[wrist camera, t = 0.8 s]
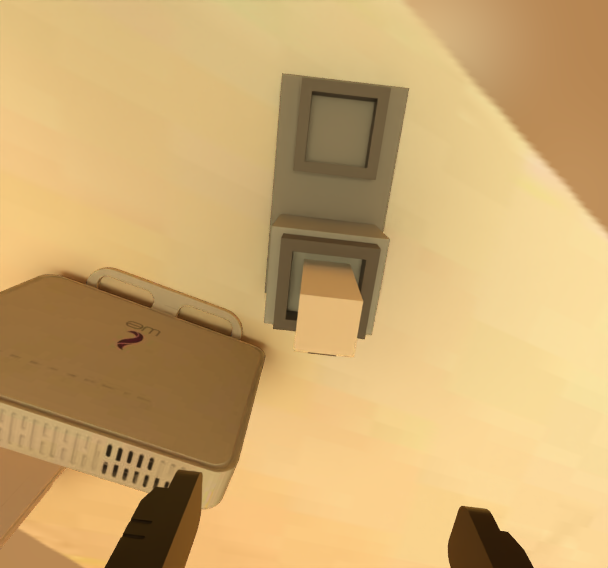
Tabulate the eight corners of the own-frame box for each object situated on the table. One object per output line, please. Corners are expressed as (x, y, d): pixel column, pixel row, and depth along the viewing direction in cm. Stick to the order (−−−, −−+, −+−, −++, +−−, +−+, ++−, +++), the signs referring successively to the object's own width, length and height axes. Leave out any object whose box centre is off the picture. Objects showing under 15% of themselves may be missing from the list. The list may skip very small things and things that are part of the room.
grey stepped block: (283, 75, 35) (269, 37, 24) (406, 90, 35) (445, 58, 24) (265, 289, 42) (249, 331, 31) (368, 301, 42) (386, 346, 31)
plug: (304, 258, 31) (300, 294, 23) (349, 263, 31) (363, 301, 23) (298, 309, 33) (292, 361, 24) (342, 314, 33) (351, 367, 24)
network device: (275, 327, 43) (244, 454, 24) (251, 385, 46) (207, 540, 27) (64, 249, 41) (-152, 322, 22) (52, 315, 44) (-150, 430, 25)
